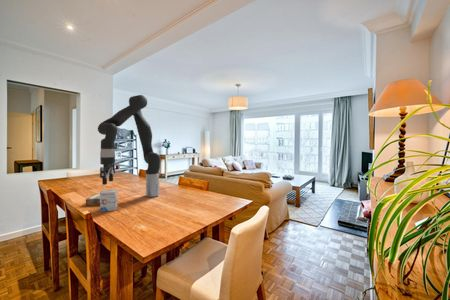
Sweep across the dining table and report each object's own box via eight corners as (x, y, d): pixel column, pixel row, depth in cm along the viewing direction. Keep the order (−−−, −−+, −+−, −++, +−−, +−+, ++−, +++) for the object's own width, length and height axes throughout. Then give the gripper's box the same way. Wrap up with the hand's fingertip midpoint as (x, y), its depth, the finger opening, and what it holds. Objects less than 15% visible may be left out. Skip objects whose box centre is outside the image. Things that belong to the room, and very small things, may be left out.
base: (115, 198, 137) (115, 192, 137) (107, 204, 124) (107, 198, 124) (96, 199, 135) (95, 193, 135) (85, 205, 122) (85, 199, 122)
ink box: (99, 212, 112) (99, 192, 111) (101, 209, 117) (101, 190, 116) (116, 210, 115) (115, 191, 114) (117, 207, 120) (117, 189, 119)
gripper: (109, 157, 107) (109, 185, 108) (119, 155, 122) (119, 180, 122) (94, 157, 106) (95, 185, 107) (106, 155, 120) (106, 180, 121)
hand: (108, 182), depth 115 cm, fingers open, 8 cm apart
